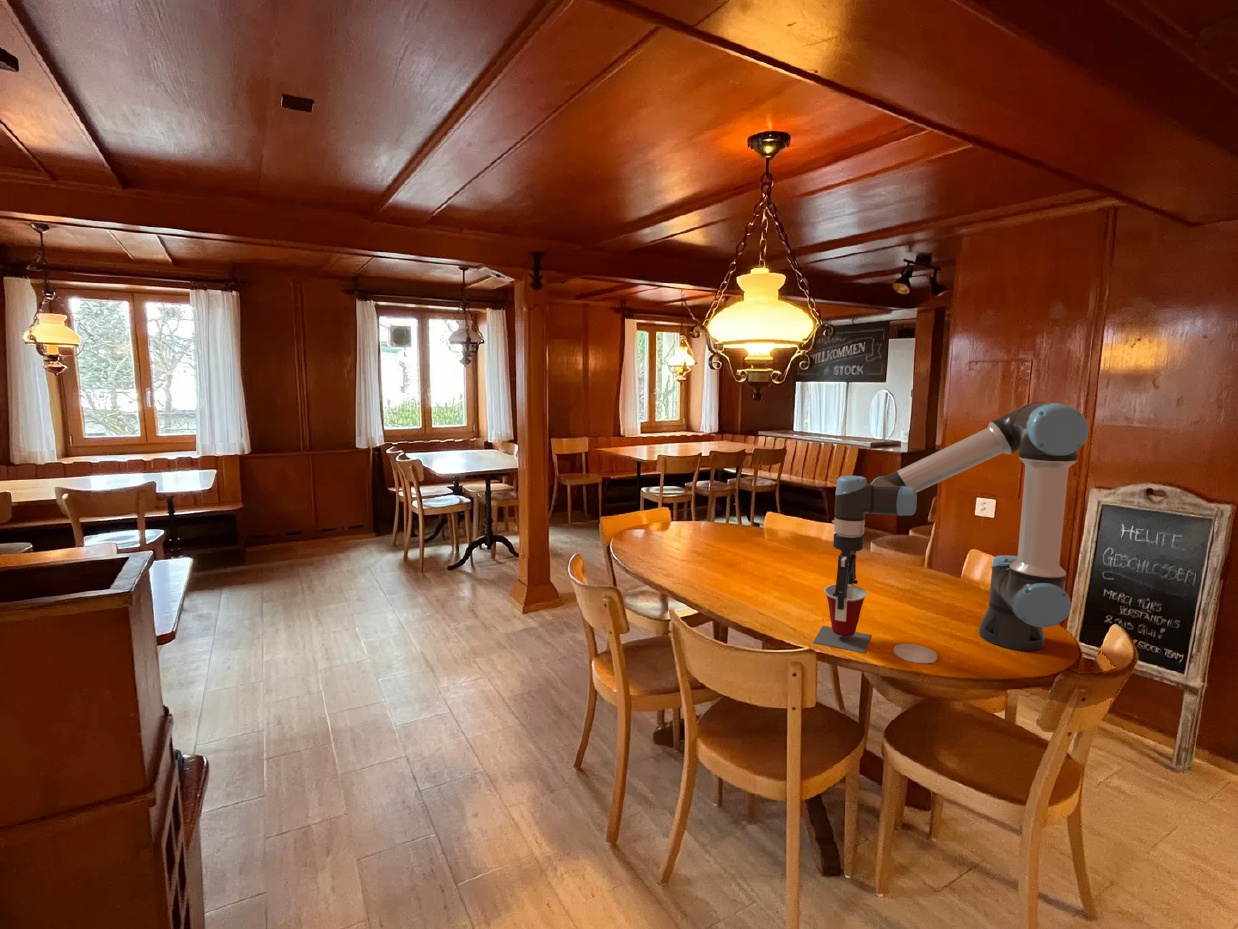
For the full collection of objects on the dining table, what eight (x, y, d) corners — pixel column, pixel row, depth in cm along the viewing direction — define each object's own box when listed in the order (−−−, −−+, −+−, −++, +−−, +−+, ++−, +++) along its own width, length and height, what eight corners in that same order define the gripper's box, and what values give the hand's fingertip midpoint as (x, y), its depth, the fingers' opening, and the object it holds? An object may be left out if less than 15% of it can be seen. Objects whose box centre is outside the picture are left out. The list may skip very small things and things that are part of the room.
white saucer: (937, 653, 161) (937, 649, 161) (935, 669, 152) (936, 664, 152) (895, 645, 166) (896, 641, 166) (891, 659, 157) (892, 655, 157)
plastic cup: (814, 632, 168) (816, 590, 167) (833, 621, 176) (835, 580, 174) (853, 644, 161) (855, 600, 159) (871, 632, 168) (873, 590, 166)
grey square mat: (870, 637, 171) (871, 634, 171) (864, 655, 160) (864, 652, 160) (822, 628, 177) (822, 625, 177) (812, 645, 166) (813, 642, 166)
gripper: (841, 523, 176) (837, 597, 179) (825, 542, 156) (821, 625, 159) (869, 526, 173) (865, 602, 176) (856, 546, 153) (851, 631, 156)
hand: (844, 613), depth 167 cm, fingers closed on plastic cup, 11 cm apart
